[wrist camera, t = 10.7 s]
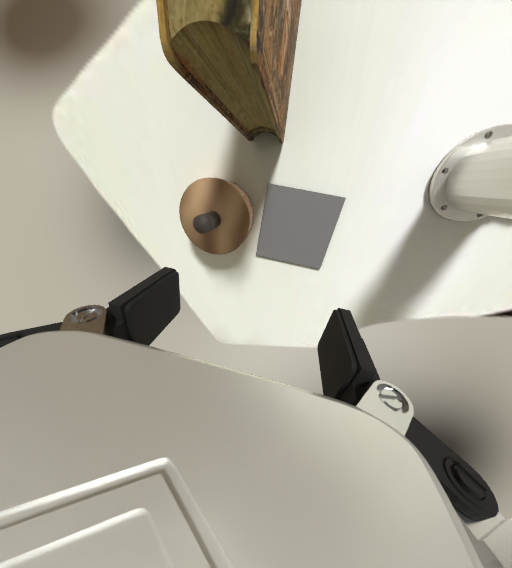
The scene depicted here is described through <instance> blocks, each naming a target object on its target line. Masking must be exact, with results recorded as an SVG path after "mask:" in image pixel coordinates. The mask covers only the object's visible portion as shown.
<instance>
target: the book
mask: <svg viewBox="0 0 512 568" xmlns="http://www.w3.org/2000/svg"><path fill="white" fill-rule="evenodd" d="M156 3H157V12H158V22H159V32H160V40H161V45H162V49H163V52H164V54H165V57H166V59H167V61H168V62H169V63H170V65H171V66H172V67H173V68H174V69H175V70H176V71H177V72H178V73H179V74H180V75H181V76H182V77H183V78H184V79H185V80H186V81H187V82H188V83H189V84H190V85H191V86H192V87H193V88H194V89H195V90H196V91H197V92H198V93H199V94H201V95H202V96H203V97H204V98H205V99H206V100H207V101H208V102H209V103H210V104H211V105H212V106H213V107H214V108H215V109H216V110H217V111H218V112H220V113H221V114H222V115H223V116H224V117H225V118H226V119H227V120H228V121H229V122H230V123H231V124H232V125H233V126H234V127H235V128H236V129H237V130H239V131H240V132H241V133H242V134H243V135H244V136H245V137H246V138H247V139H248V140H249V141H253V139H254V137H255V136H256V135H257V134H259V133H261V132H271V133H273V134H275V135H277V136H278V139H279V141H280V143H283V141H284V134H285V126H286V119H287V111H288V103H289V95H290V87H291V79H292V71H293V64H294V56H295V48H296V40H297V32H298V24H299V16H300V9H301V0H156Z"/></svg>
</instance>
